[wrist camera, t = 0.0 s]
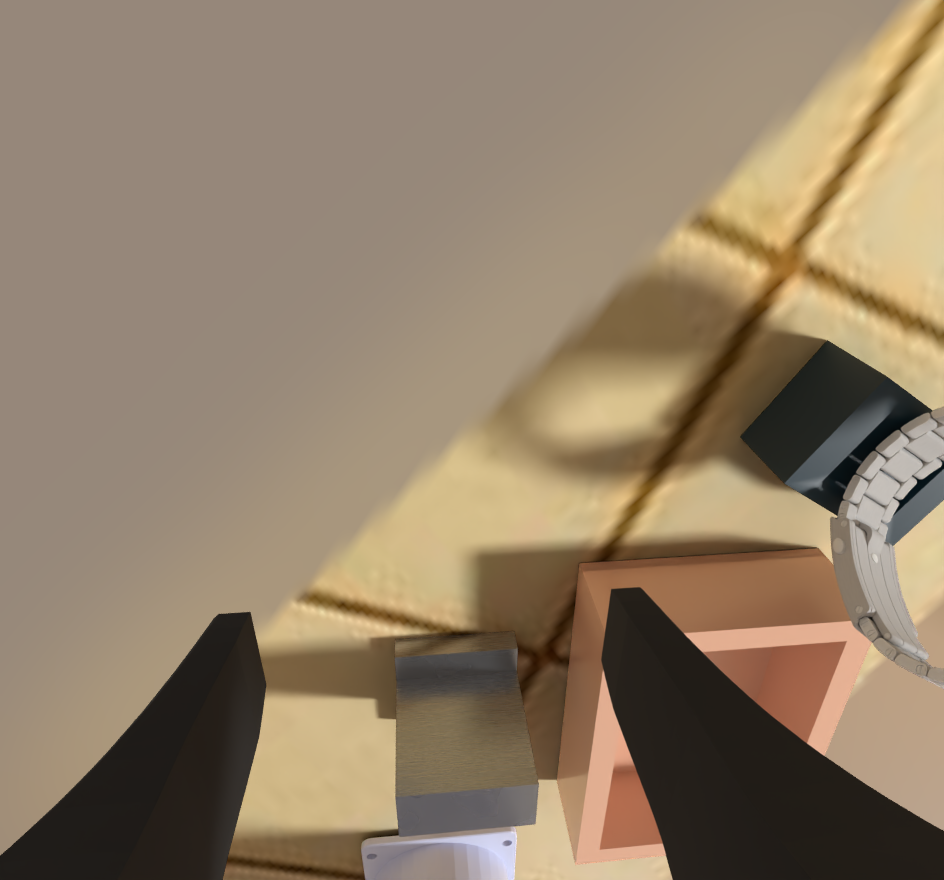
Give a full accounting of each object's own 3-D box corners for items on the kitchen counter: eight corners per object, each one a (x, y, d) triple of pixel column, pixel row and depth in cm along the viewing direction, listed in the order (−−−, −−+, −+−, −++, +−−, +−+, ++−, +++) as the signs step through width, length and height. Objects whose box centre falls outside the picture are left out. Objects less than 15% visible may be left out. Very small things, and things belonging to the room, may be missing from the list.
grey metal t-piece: (510, 710, 30) (533, 844, 25) (401, 718, 29) (401, 857, 24) (514, 630, 27) (540, 760, 22) (394, 638, 27) (393, 773, 22)
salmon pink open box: (747, 763, 33) (788, 843, 30) (556, 780, 33) (575, 864, 29) (818, 548, 27) (881, 618, 23) (579, 563, 26) (607, 638, 22)
